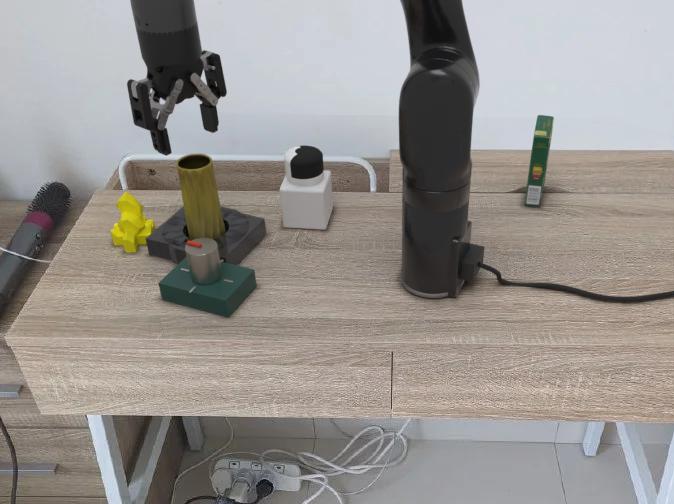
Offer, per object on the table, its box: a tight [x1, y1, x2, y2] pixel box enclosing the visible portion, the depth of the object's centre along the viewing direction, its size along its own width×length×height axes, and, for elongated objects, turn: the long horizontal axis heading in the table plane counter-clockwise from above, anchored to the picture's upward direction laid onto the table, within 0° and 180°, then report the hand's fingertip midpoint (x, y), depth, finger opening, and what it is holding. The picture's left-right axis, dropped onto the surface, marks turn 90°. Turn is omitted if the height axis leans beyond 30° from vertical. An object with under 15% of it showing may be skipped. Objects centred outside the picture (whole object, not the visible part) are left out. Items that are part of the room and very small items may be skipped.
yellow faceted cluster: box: [110, 191, 157, 254], centre depth 122 cm, size 6×8×8 cm
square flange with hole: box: [145, 205, 267, 265], centre depth 122 cm, size 14×13×3 cm
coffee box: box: [524, 114, 555, 208], centre depth 131 cm, size 8×3×13 cm, turn 167°
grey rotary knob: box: [185, 238, 222, 285], centre depth 110 cm, size 4×4×5 cm
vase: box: [175, 153, 226, 240], centre depth 118 cm, size 6×6×14 cm
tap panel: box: [157, 257, 258, 318], centre depth 112 cm, size 11×9×3 cm
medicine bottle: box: [279, 144, 334, 231], centre depth 125 cm, size 7×7×12 cm
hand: (188, 141), depth 107 cm, fingers open, 8 cm apart
